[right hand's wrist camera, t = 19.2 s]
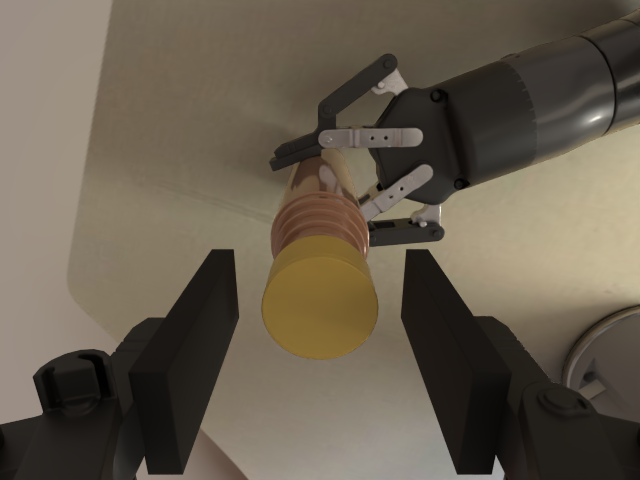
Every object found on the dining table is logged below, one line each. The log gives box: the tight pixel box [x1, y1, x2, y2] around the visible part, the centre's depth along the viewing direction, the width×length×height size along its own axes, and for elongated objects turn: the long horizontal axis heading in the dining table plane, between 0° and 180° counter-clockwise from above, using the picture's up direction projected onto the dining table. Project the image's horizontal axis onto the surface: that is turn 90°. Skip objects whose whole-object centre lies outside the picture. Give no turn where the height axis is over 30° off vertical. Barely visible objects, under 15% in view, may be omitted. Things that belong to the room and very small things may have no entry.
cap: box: [262, 235, 378, 359], centre depth 14 cm, size 4×4×2 cm
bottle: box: [271, 148, 369, 261], centre depth 24 cm, size 5×5×24 cm
